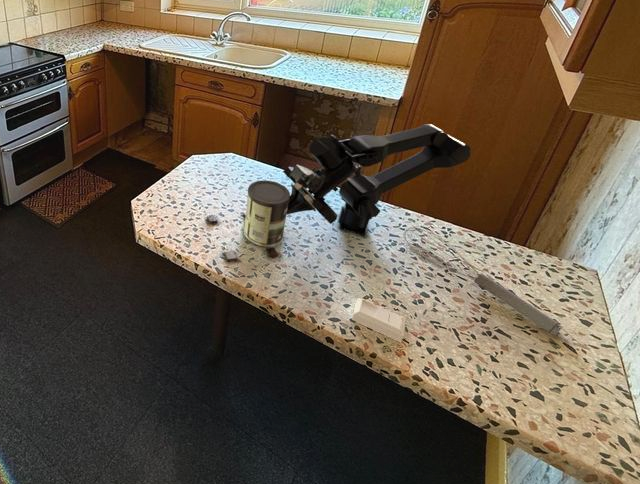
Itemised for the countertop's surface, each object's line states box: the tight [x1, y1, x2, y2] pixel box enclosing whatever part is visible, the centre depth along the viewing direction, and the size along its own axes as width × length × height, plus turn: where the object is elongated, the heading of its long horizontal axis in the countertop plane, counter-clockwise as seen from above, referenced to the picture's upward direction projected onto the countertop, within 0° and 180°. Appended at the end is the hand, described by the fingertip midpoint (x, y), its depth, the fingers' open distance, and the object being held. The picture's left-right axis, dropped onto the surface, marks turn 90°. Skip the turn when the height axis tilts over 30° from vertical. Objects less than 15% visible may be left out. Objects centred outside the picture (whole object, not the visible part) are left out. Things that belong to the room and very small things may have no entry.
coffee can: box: [243, 180, 291, 248], centre depth 105 cm, size 10×10×14 cm
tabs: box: [206, 212, 279, 262], centre depth 108 cm, size 13×17×1 cm
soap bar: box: [351, 297, 406, 343], centre depth 84 cm, size 5×9×3 cm, turn 54°
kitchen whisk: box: [403, 225, 574, 342], centre depth 92 cm, size 6×34×6 cm, turn 27°
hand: (282, 213), depth 106 cm, fingers closed
